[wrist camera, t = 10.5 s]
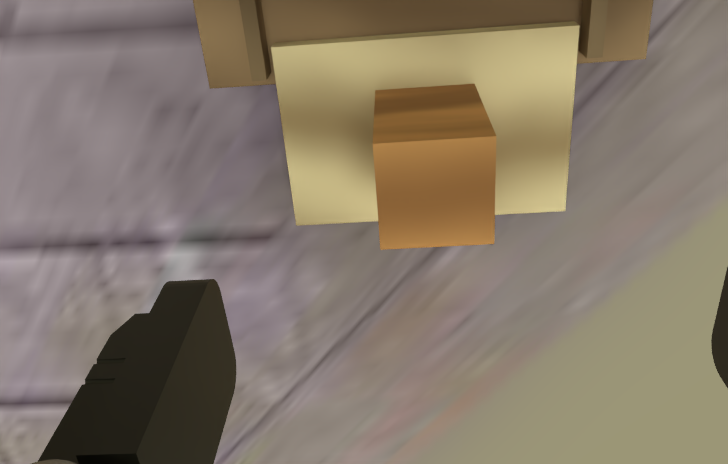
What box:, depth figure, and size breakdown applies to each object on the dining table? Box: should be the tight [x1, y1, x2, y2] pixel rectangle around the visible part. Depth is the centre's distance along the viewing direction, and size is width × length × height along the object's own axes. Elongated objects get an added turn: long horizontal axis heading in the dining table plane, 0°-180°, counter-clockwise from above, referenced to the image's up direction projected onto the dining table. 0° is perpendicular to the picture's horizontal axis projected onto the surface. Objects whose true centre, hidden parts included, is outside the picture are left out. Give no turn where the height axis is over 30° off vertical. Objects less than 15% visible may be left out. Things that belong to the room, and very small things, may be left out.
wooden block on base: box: [271, 21, 580, 250], centre depth 25 cm, size 8×12×7 cm, turn 94°
